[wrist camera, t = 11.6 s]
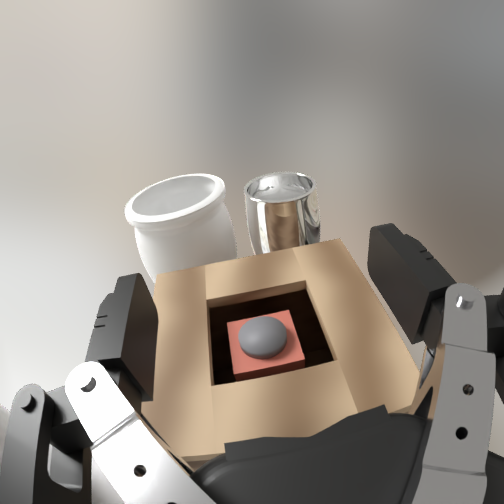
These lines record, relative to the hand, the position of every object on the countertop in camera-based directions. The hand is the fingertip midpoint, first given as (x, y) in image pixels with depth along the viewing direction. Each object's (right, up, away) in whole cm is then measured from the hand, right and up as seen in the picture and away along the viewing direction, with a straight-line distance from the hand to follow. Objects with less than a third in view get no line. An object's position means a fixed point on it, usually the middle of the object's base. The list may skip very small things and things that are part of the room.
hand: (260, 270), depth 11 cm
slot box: (+2, -14, +14) cm, 20 cm away
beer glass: (+4, -6, +26) cm, 27 cm away
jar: (-6, -6, +28) cm, 29 cm away
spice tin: (+2, -13, +14) cm, 19 cm away
